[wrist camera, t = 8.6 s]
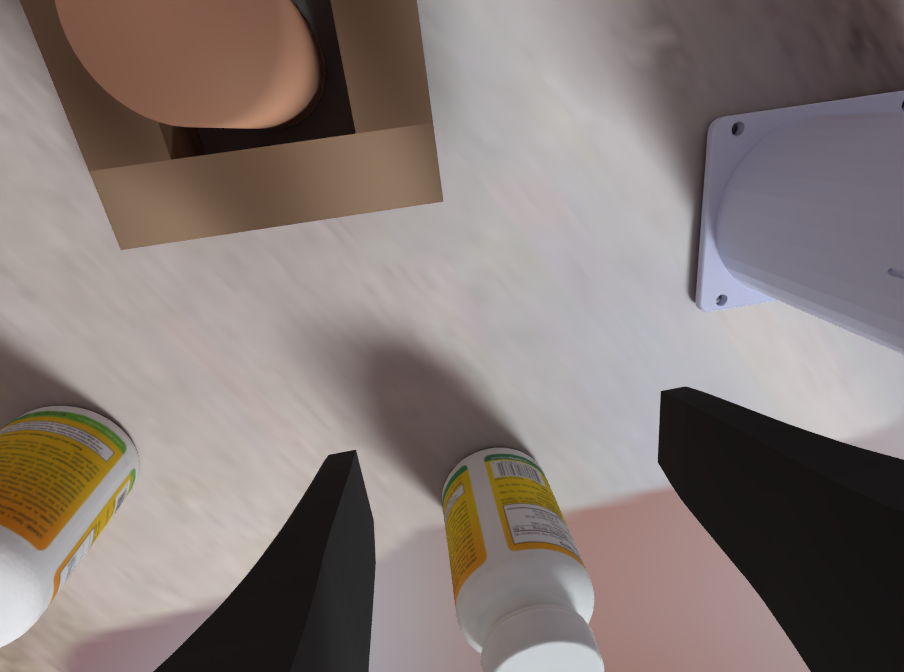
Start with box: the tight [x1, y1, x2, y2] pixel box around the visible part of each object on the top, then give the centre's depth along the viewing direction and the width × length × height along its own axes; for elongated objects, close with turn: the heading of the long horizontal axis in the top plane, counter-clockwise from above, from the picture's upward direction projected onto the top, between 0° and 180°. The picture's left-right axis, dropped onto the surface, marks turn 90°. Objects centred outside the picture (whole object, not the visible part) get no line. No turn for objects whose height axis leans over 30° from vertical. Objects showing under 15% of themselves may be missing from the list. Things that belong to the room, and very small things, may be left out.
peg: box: [55, 0, 325, 129], centre depth 13 cm, size 4×4×8 cm
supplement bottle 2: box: [442, 448, 604, 672], centre depth 20 cm, size 5×5×10 cm
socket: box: [20, 0, 443, 250], centre depth 15 cm, size 10×10×3 cm
